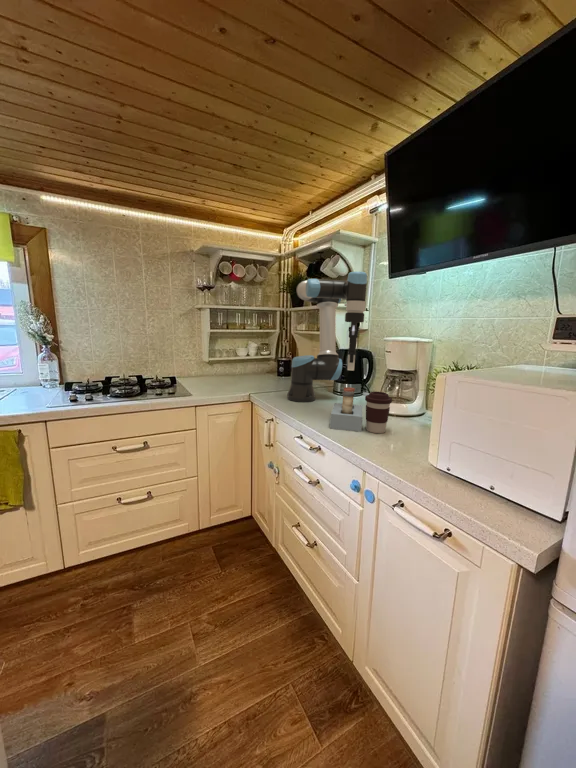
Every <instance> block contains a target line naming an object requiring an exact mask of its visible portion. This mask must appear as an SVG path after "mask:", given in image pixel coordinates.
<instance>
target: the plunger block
mask: <svg viewBox="0 0 576 768" xmlns="http://www.w3.org/2000/svg"><path fill="white" fill-rule="evenodd" d="M329 421H330V422H329V429H330V430H331V429H333V430H340V431H341V430H342V431H348V432H349V431H351V432H358V433H359V432H360V433H361V432H362V425H363V405H362V404H361V405H360V404H353V409H352V414H342V403H337V402H334V404H333V406H332V410H331V413H330V420H329Z"/></svg>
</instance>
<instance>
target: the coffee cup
mask: <svg viewBox="0 0 576 768" xmlns="http://www.w3.org/2000/svg"><path fill="white" fill-rule="evenodd" d="M364 400H365V401H366V405H365V423H366V424H365V429H366V431H367V432H369V433H374V434H384V433H385V432H386V428H387V423H388V420H389V414H390V408H391V407H390V404H392V402H393V399H392V397H391V396H389V394H388V393H386V392H385V391H384V392H383V391H370V392H369V394H367V395H365V398H364Z"/></svg>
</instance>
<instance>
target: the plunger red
mask: <svg viewBox="0 0 576 768" xmlns="http://www.w3.org/2000/svg"><path fill="white" fill-rule="evenodd" d="M346 391H347V392H353V393H354V394H355V391H356V389H355V387H343V392H346ZM354 396H355V395H354ZM354 396H353V398H355V397H354ZM352 409H353V407H352Z"/></svg>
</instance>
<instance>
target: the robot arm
mask: <svg viewBox="0 0 576 768" xmlns="http://www.w3.org/2000/svg"><path fill="white" fill-rule="evenodd" d="M367 285H368V274H367V272H365V271H351V272H349V273H348V274H347V279H346V280H343V279H342V280H341V279H340V280H339V279H325V278H324V279H323V278H322V279H321V278H308V279H307V280H302V281H300V282H299V283H298V284H297V286H296V295H297V297H298V298H299V299H301V300H302V301H305V302H308V303H316V307H317V308H318V309H319V352H318V353H317V355H316V358H315V356H314V355H309V354H307V355H299V356H294V357H293V358H292V359H291V375H290V377H291V379H290V386H289V389H288V392H287V397H286V398H287V400H289V401H291V402H296V403H297V402H298V403H305V402H306V403H309V402H314V401H315V400H316V393H315V389H314V385H313V383H314V382H313V381H329V382H330V381H336V380H338V379H339V378H340V377H341V375H342V372H343V371H342V370H343V360H342V358H339V354H338V352H337V351H336V350H337V349H336V347H337V346H336V344H337V343H336V342H337V341H336V309H337V307H338V306H339V304H340V303H341V302H342V300H343V301H344V300H345V301H346V303H344V307H345V315H344V321H345V323H350V326H348V337H349V343H348V344H349V346H348V352H346V355H348V356H347V357H348V358H347V369H346V370H347V371H353V372H354V371H355V363H356V355H357V354H358V353H357V352H356V346H357V338H358V335H359V330H360V327H359V326H358V323H364V321H365V313H364V312H365V310H366V299H367V298H366V296H367V287H368V286H367Z"/></svg>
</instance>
